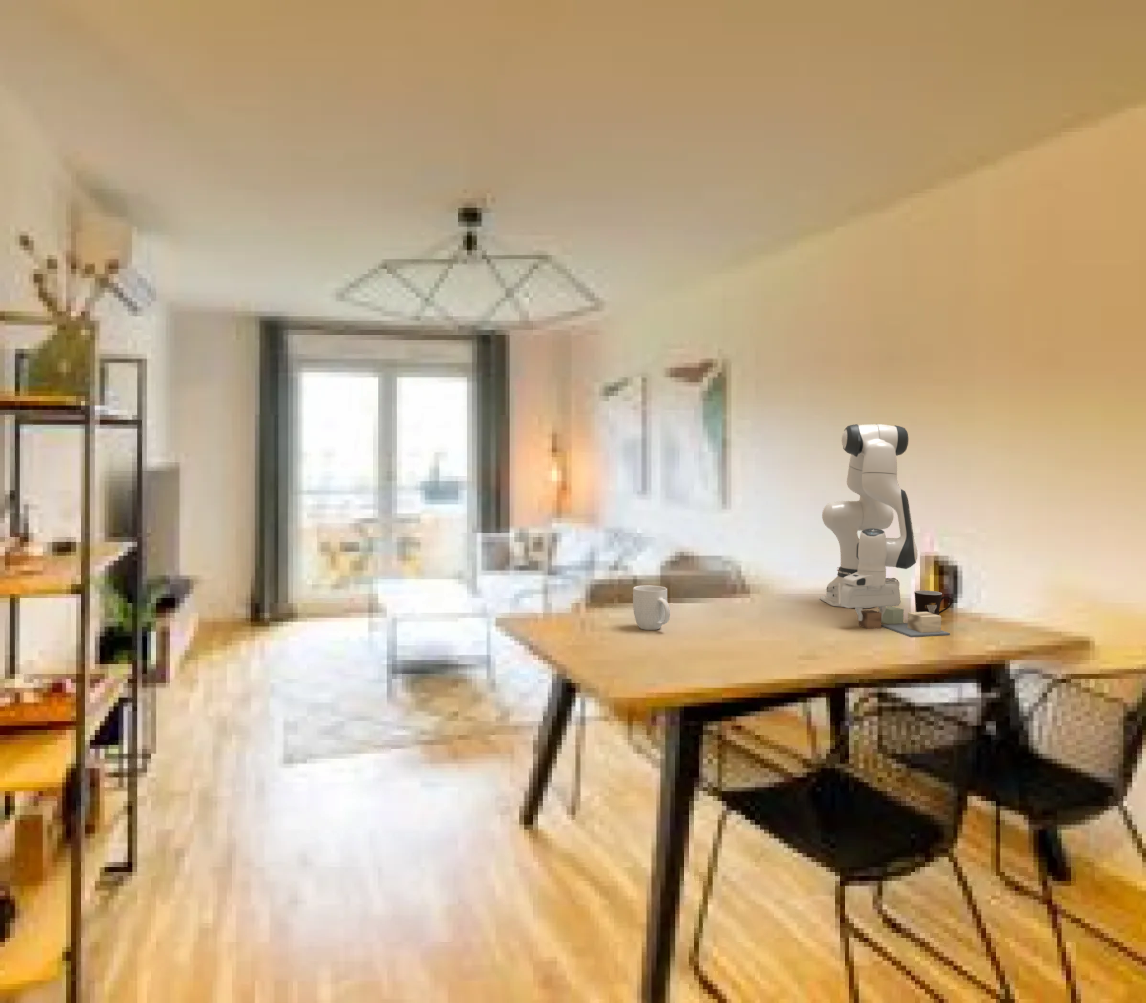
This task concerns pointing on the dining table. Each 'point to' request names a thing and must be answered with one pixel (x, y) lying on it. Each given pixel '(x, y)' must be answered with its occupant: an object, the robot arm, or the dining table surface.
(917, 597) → the coffee mug
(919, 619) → the base block
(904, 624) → the mat
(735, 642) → the dining table surface
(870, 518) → the robot arm
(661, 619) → the mug
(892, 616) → the sage block
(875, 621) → the walnut block
